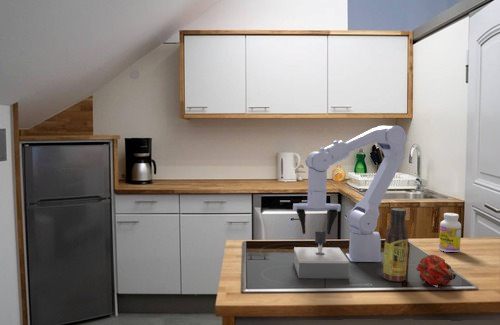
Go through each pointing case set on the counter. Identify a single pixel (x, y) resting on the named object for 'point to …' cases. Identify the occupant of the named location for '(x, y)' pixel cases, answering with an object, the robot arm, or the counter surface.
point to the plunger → (320, 240)
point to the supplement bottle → (450, 233)
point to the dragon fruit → (435, 270)
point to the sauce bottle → (396, 247)
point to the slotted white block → (321, 263)
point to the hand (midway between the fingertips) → (316, 233)
